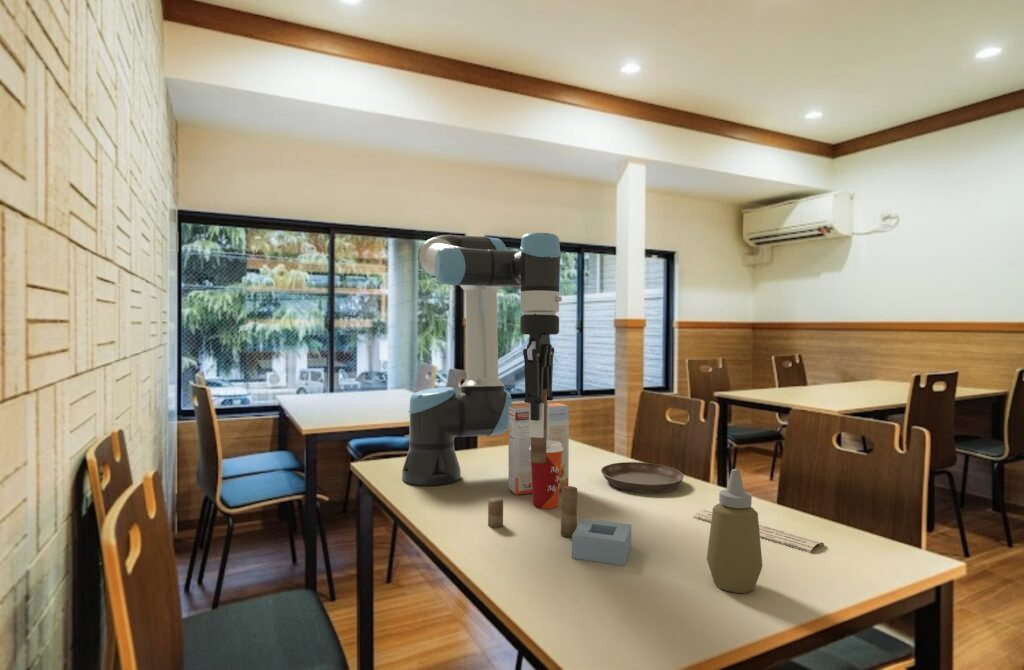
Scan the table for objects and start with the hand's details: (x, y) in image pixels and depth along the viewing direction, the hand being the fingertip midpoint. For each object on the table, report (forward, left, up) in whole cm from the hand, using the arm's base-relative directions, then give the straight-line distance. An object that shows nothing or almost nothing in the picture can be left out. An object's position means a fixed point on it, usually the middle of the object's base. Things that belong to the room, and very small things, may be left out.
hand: (538, 435), depth 109 cm
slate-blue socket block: (+5, +13, -19) cm, 24 cm away
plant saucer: (-43, +15, -19) cm, 49 cm away
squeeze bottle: (+11, +35, -19) cm, 41 cm away
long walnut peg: (0, 0, -5) cm, 5 cm away
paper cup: (-17, -3, -19) cm, 26 cm away
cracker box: (-28, -8, -19) cm, 35 cm away
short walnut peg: (-1, -9, -19) cm, 21 cm away
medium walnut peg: (-1, +6, -19) cm, 20 cm away
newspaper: (-16, +40, -20) cm, 48 cm away
